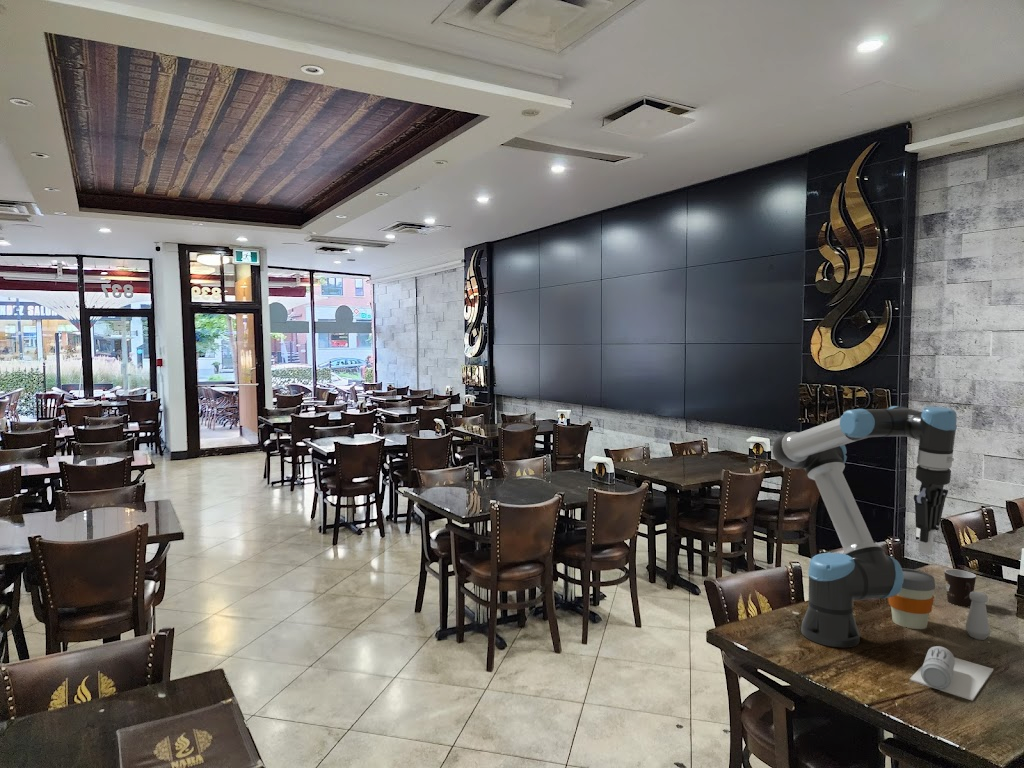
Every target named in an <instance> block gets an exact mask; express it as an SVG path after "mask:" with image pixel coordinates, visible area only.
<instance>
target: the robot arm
mask: <svg viewBox="0 0 1024 768" xmlns="http://www.w3.org/2000/svg"><path fill="white" fill-rule="evenodd" d="M957 417H958V416H957V412H956V411H955V410H954V409H952V408H948V407H942V406H926V407H924V408H922V411H921V410H920V411H919V410H916V409H912V408H908V407H907V406H898V405H892V406H889V407H888V408H877V409H876V408H875V409H874V408H872V409H870V408H856V409H847V410H845V411H844V412H843V414H842V415H840V417H839V418H838V417H837V418H835V419H833V420H831V421H827V422H825V423H821V424H819V425H817V426H813V427H810V428H809V429H805V430H803V431H799V432H797V431H790V432H787V433H784V434H781V435H780V436H779V437H777V438H776V439H775V441H774V442H773V443H772V453H773V457H774V459H775V461H776V462H777V463H778V464H780V465H781V466H783V467H785V468H788V469H793V470H796V469H797V470H800V469H801V470H804V471H805V473H806V475H807V477H808V479H810V480H812V481H814V482H815V485H816V487H817V489H818V491H819V493H820V496H821V498H822V501H823V503H824V506H825V508H826V510H827V513H828V515H829V518H830V520H831V521H832V525H833V528H834V529H835V532H836V534H837V537H838V539H839V541H840V545H841V546H842V549H843V553H841V552H823V553H818V554H815V555H814V556H812V557H811V559H810V561H809V566H808V571H807V574H808V603H807V604H808V606H807V609H806V612H805V613H804V617H803V620H802V621H801V628H800V629H801V630H800V632H801V634H802V635H803V636H804V637H805V638H806V639H807V640H809V641H811V642H814V643H817V644H820V645H822V646H827V647H832V648H840V649H841V648H842V649H843V648H853V647H857V646H858V645H859V643H860V631H859V628H858V627H859V626H858V625H857V622H856V618H855V615H854V601H863V600H877V599H879V600H883V599H886V598H887V599H888V597H893V596H895V595H897V594H898V593H899V592H900V590H901V589H902V584H903V580H904V577H903V571H902V568H903V567H902V565H901V564H900V562H899V561H898V560H897V559H895V558H894V557H892V556H890V555H886V553H885V551H884V549H883V547H882V545H879V544H877V543H875V542H874V540H873V538H872V535H871V533H870V531H869V528H868V527H867V524H866V522H865V520H864V518H863V515H862V514H861V511H860V509H859V506H858V504H857V502H856V499H855V498H854V495H853V493H852V490H851V488H850V486H849V484H848V482H847V480H846V478H845V475H844V473H843V472H844V470H845V467H846V465H845V464H846V461H847V458H848V456H847V455H846V454H847V447H846V445H847V444H850V443H854V442H857V441H861V440H865V439H868V438H879V437H881V438H882V437H883V438H884V437H886V438H887V437H907V438H909V439H914V440H917V441H918V448H917V449H918V450H917V457H916V459H917V460H916V464H918V465H917V466H916V468H915V469H916V471H915V479H916V480H917V481H918V482H920V486H919V494H914V495H913V500H914V508H915V509H914V513H915V515H914V516H915V528H916V529H919V539H918V540H919V541H918V549H917V550H918V552H919V553H923V554H925V555H928V556H930V555H932V554H933V547H934V538H935V531H939V530H940V527H939V526H940V524H941V519H942V516H943V511H944V506H945V502H946V498H947V496H948V493H949V489H946V488H945V487H944V486H945V485H949V484H950V483H951V475H952V470H951V468H952V465H953V464H952V463H953V462H955V461H954V460H955V458H954V457H953V455H954V446H955V439H956V432H957V431H956V430H957V427H958V426H957Z"/></svg>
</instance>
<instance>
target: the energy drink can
mask: <svg viewBox="0 0 1024 768" xmlns="http://www.w3.org/2000/svg"><path fill="white" fill-rule="evenodd" d="M954 657H955V656H954V654H953V653H952V651H951V650H949V649H948V648H946V647H944V646H940V645H938V646H937V645H936V646H931V647H930V648H929V649H928V650H927V653H926V655H925V658H924V661H923V664H922V665H923V667H922V670H921V676H922V679H923V680H924V682H925V683H926V684H928V685H929V686H931V687H930V688H932V689H936V690H938V689H944V688H946V687H948V686H949V684H950V681H951V677H952V673H953V669H954V665H955V658H956V657H955V658H954ZM929 686H928V687H929Z"/></svg>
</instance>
